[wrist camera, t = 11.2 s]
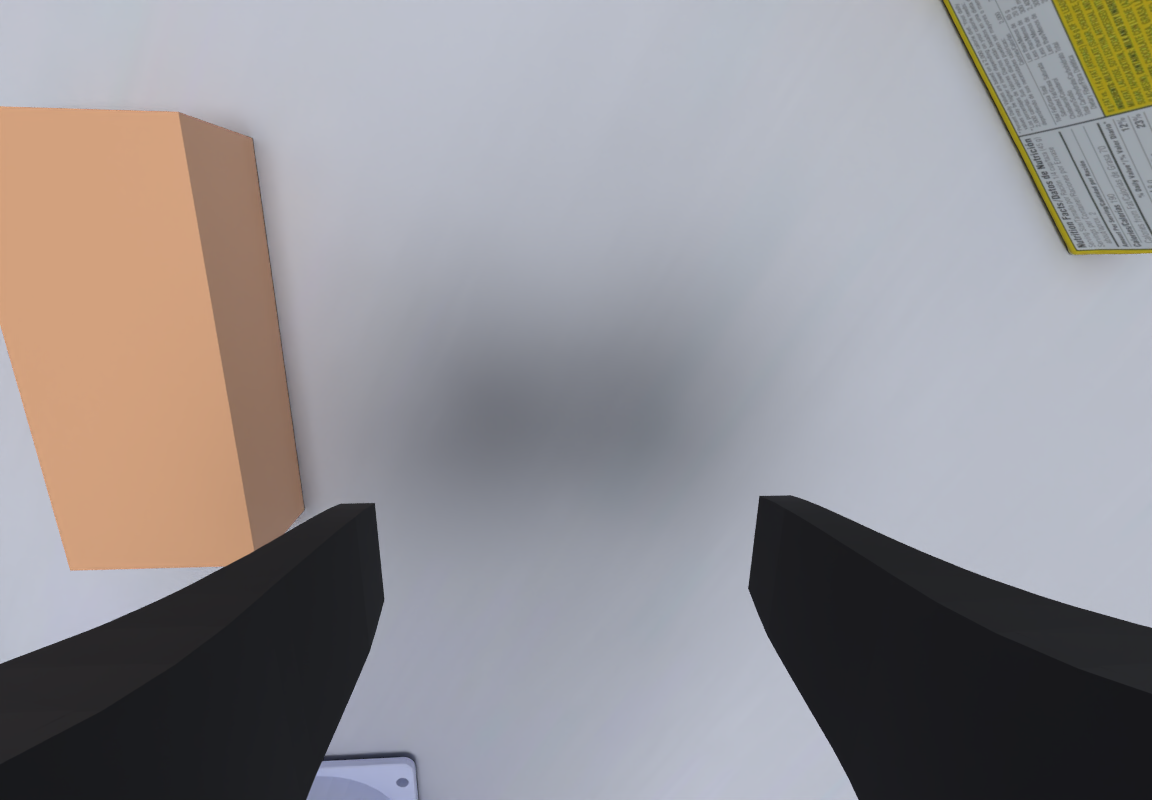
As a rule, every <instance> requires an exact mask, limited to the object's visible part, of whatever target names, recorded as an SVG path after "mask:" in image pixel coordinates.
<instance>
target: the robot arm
mask: <svg viewBox="0 0 1152 800" xmlns="http://www.w3.org/2000/svg"><path fill="white" fill-rule="evenodd" d="M748 589H749V592H750V594H751V597H752V599H753V602H754V604H755V607H756V610H757V612H758V615H759V617H760V619H761V622H762V624H763V626H764V629H765V631H766V633H767V636H768V638H769V639H770V641H771V643H772V645H773V647H774V648H775V650H776V652H777V654H778V655H779V657H780V659H781V661H782V662H783V664H784V666H785V668H786V669H787V671H788V673H789V675H790V676H791V678H792V680H793V681H794V683H795V685H796V687H797V688H798V690H799V692H800V693H801V695H802V697H803V699H804V700H805V702H806V704H807V705H808V707H809V709H810V711H811V712H812V714H813V716H814V717H815V719H816V721H817V723H818V724H819V726H820V728H821V729H822V731H823V733H824V734H825V736H826V738H827V740H828V741H829V743H830V745H831V746H832V748H833V750H834V752H835V754H836V756H837V757H838V759H839V761H840V763H841V765H842V767H843V769H844V771H845V772H846V774H847V776H848V778H849V780H850V782H851V784H852V787H853V789H854V791H855V793H856V795H857V797H858V799H859V800H1152V628H1150V627H1146V626H1142V625H1138V624H1135V623H1131V622H1128V621H1124V620H1120V619H1117V618H1113V617H1110V616H1106V615H1103V614H1099V613H1096V612H1092V611H1088V610H1085V609H1081V608H1078V607H1074V606H1071V605H1068V604H1065V603H1061V602H1058V601H1055V600H1052V599H1048V598H1045V597H1042V596H1039V595H1036V594H1033V593H1030V592H1027V591H1024V590H1021V589H1019V588H1016V587H1013V586H1010V585H1007V584H1004V583H1001V582H998V581H995V580H992V579H989V578H987V577H984V576H981V575H979V574H976V573H973V572H971V571H968V570H965V569H963V568H960V567H958V566H955V565H953V564H951V563H948V562H946V561H943V560H941V559H938V558H936V557H933V556H931V555H929V554H926V553H924V552H921V551H919V550H917V549H914V548H912V547H910V546H907V545H905V544H903V543H901V542H898V541H896V540H894V539H892V538H889V537H887V536H885V535H883V534H881V533H878V532H876V531H874V530H872V529H870V528H867V527H865V526H863V525H861V524H859V523H856V522H854V521H852V520H850V519H848V518H846V517H843V516H841V515H839V514H837V513H835V512H832V511H830V510H828V509H826V508H823V507H821V506H819V505H816V504H814V503H811V502H809V501H806V500H803V499H801V498H797V497H794V496H791V495H790V496H759V505H758V513H757V521H756V529H755V538H754V546H753V554H752V562H751V571H750V579H749V587H748ZM383 603H384V592H383V582H382V571H381V561H380V551H379V541H378V531H377V521H376V511H375V503H357V504H339V505H336V506H334V507H332V508H330V509H328V510H326V511H324V512H322V513H320V514H318V515H316V516H314V517H313V518H311V519H309V520H307V521H306V522H304V523H302V524H300V525H299V526H297V527H295V528H293V529H292V530H290V531H288V532H286V533H285V534H283V535H281V536H279V537H278V538H276V539H274V540H272V541H271V542H269V543H267V544H265V545H264V546H262V547H260V548H258V549H257V550H255V551H253V552H251V553H250V554H248V555H246V556H244V557H242V558H240V559H238V560H237V561H235V562H233V563H231V564H229V565H227V566H225V567H223V568H221V569H220V570H218V571H216V572H214V573H212V574H210V575H208V576H206V577H204V578H203V579H201V580H199V581H197V582H195V583H193V584H191V585H189V586H187V587H185V588H183V589H181V590H179V591H177V592H175V593H173V594H171V595H169V596H167V597H164V598H162V599H160V600H158V601H156V602H154V603H152V604H149V605H147V606H145V607H143V608H140V609H138V610H136V611H133V612H131V613H129V614H127V615H124V616H122V617H120V618H118V619H115V620H113V621H111V622H108V623H106V624H104V625H101V626H99V627H96V628H94V629H91V630H89V631H86V632H84V633H81V634H78V635H76V636H73V637H70V638H68V639H65V640H62V641H60V642H57V643H54V644H52V645H49V646H47V647H44V648H41V649H39V650H36V651H33V652H31V653H28V654H25V655H23V656H20V657H17V658H15V659H12V660H9V661H7V662H4V663H2V664H0V800H418V791H417V780H416V769H415V763H414V762H413V761H412V760H411V759H410V758H407V757H394V758H374V759H355V760H335V761H322V760H323V758H324V756H325V754H326V751H327V749H328V747H329V744H330V742H331V740H332V738H333V735H334V733H335V731H336V728H337V726H338V724H339V722H340V719H341V717H342V715H343V712H344V710H345V708H346V706H347V703H348V701H349V699H350V696H351V694H352V692H353V689H354V687H355V685H356V682H357V680H358V678H359V675H360V673H361V671H362V668H363V666H364V664H365V661H366V659H367V656H368V654H369V652H370V649H371V645H372V642H373V639H374V635H375V632H376V629H377V625H378V621H379V618H380V614H381V610H382V606H383Z"/></svg>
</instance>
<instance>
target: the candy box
mask: <svg viewBox="0 0 1152 800" xmlns="http://www.w3.org/2000/svg"><path fill="white" fill-rule="evenodd" d="M943 1H944V3H945V5H946V7H947V9H948V11H949V13H950V15H951V17H952V19H953V21H954V23H955V25H956V27H957V29H958V31H959V33H960V35H961V37H962V39H963V41H964V43H965V45H966V47H967V49H968V51H969V53H970V55H971V57H972V59H973V61H974V63H975V65H976V67H977V69H978V71H979V73H980V75H981V77H982V79H983V81H984V82H985V84H986V86H987V88H988V90H989V92H990V94H991V96H992V98H993V100H994V102H995V104H996V106H997V108H998V110H999V112H1000V114H1001V116H1002V118H1003V120H1004V122H1005V124H1006V126H1007V128H1008V130H1009V132H1010V134H1011V136H1012V138H1013V140H1014V142H1015V144H1016V145H1017V147H1018V149H1019V151H1020V153H1021V155H1022V158H1023V160H1024V162H1025V164H1026V166H1027V167H1028V169H1029V171H1030V173H1031V175H1032V178H1033V180H1034V182H1035V184H1036V186H1037V188H1038V190H1039V192H1040V194H1041V196H1042V198H1043V200H1044V202H1045V203H1046V205H1047V207H1048V209H1049V212H1050V214H1051V216H1052V218H1053V220H1054V222H1055V224H1056V226H1057V227H1058V229H1059V231H1060V233H1061V235H1062V237H1063V239H1064V241H1065V243H1066V245H1067V248H1068V252H1069V253H1070V254H1073V255H1087V254H1141V253H1152V0H943Z"/></svg>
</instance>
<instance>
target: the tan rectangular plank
mask: <svg viewBox="0 0 1152 800" xmlns="http://www.w3.org/2000/svg"><path fill="white" fill-rule="evenodd" d="M0 325H1V329H2V332H3V336H4V339H5V343H6V346H7V350H8V353H9V357H10V361H11V364H12V368H13V371H14V375H15V378H16V382H17V385H18V389H19V392H20V396H21V399H22V403H23V406H24V410H25V413H26V417H27V420H28V424H29V427H30V431H31V434H32V438H33V441H34V445H35V448H36V452H37V455H38V459H39V462H40V466H41V469H42V473H43V476H44V480H45V483H46V487H47V490H48V494H49V497H50V501H51V504H52V508H53V511H54V515H55V518H56V522H57V525H58V529H59V532H60V536H61V539H62V543H63V546H64V550H65V553H66V557H67V560H68V564H69V567H70V570H106V569H144V568H182V567H220V566H227V565H229V564H231V563H233V562H235V561H237V560H238V559H240V558H242V557H244V556H246V555H248V554H250V553H251V552H253V551H255V550H257V549H258V548H260V547H262V546H264V545H265V544H267V543H269V542H271V541H272V540H274V539H276V538H278V537H279V536H281V535H283V534H284V533H285V532H286V531H287V530H288V529H289V527H290V526H291V525H292V524H293V523H294V521H295V520H296V519H297V518H298V517H299V516H300V514H301V513H302V512H303V511H304V503H303V496H302V489H301V482H300V475H299V467H298V460H297V453H296V446H295V439H294V432H293V425H292V418H291V410H290V403H289V396H288V389H287V382H286V375H285V368H284V361H283V353H282V346H281V339H280V332H279V325H278V318H277V311H276V304H275V296H274V289H273V282H272V275H271V268H270V261H269V254H268V247H267V239H266V232H265V225H264V218H263V211H262V204H261V197H260V189H259V182H258V175H257V168H256V161H255V154H254V147H253V140H252V138H250V137H248V136H245V135H242V134H239V133H236V132H233V131H231V130H228V129H225V128H222V127H219V126H216V125H214V124H211V123H208V122H205V121H202V120H200V119H197V118H194V117H191V116H188V115H185V114H183V113H180V112H164V111H131V110H98V109H65V108H32V107H0Z"/></svg>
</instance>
